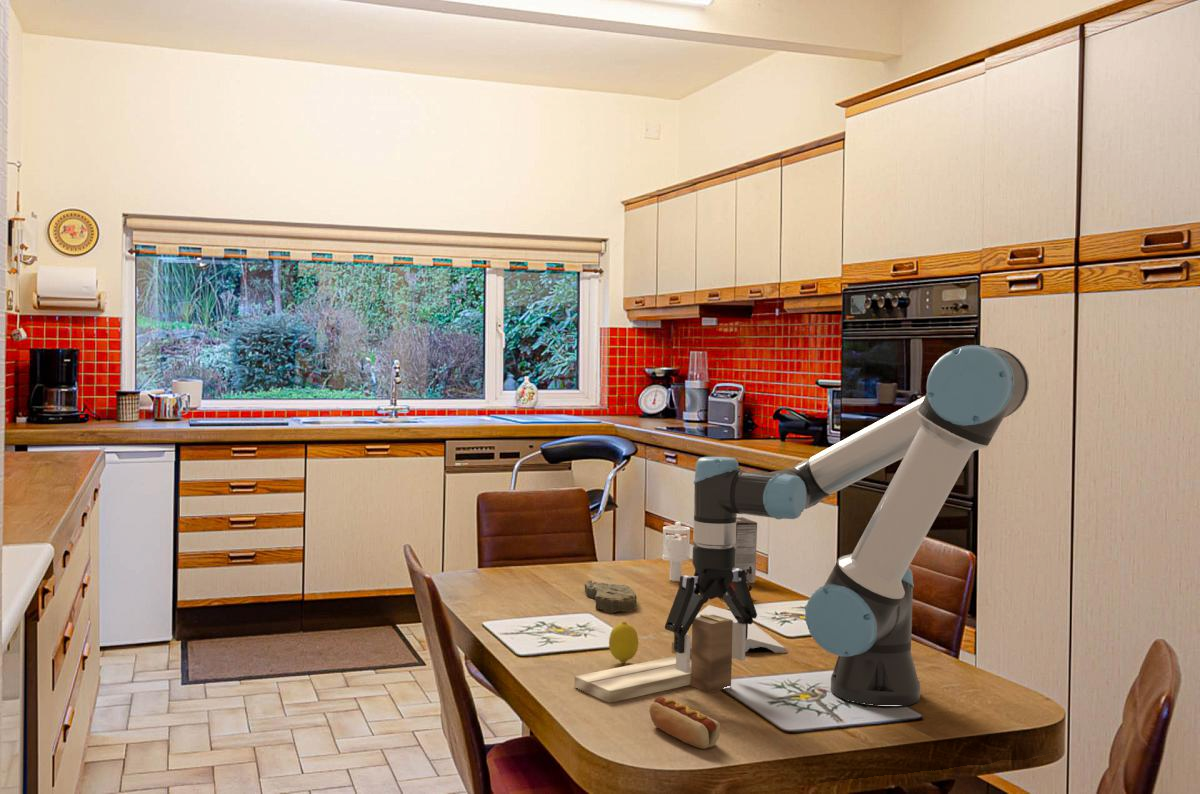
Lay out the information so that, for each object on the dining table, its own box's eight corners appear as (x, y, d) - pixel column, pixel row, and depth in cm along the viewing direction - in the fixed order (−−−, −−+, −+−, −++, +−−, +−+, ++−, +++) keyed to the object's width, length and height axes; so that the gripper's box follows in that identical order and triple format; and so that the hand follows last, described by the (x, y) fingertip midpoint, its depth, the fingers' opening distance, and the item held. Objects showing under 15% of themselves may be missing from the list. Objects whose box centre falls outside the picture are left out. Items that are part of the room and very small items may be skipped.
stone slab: (652, 610, 242) (649, 589, 241) (602, 622, 239) (599, 600, 239) (621, 590, 267) (618, 571, 267) (575, 601, 265) (572, 581, 264)
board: (710, 680, 190) (710, 668, 190) (609, 702, 176) (609, 690, 176) (673, 666, 198) (673, 655, 198) (574, 687, 184) (574, 675, 184)
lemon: (628, 669, 196) (629, 626, 196) (603, 664, 199) (603, 622, 199) (643, 662, 201) (644, 620, 201) (618, 657, 204) (619, 616, 204)
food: (727, 749, 157) (728, 715, 157) (698, 756, 154) (699, 722, 154) (670, 721, 168) (671, 690, 168) (642, 727, 165) (643, 696, 165)
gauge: (731, 687, 186) (733, 618, 186) (710, 692, 183) (712, 622, 183) (685, 671, 196) (686, 605, 195) (664, 675, 193) (666, 608, 192)
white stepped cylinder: (690, 578, 281) (691, 522, 281) (686, 583, 274) (687, 526, 274) (664, 576, 283) (665, 520, 282) (659, 581, 276) (661, 524, 275)
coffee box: (719, 576, 284) (721, 517, 284) (741, 575, 286) (743, 516, 285) (733, 583, 275) (735, 522, 275) (756, 582, 277) (758, 521, 277)
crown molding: (788, 655, 210) (788, 637, 210) (729, 657, 208) (729, 639, 208) (742, 620, 239) (742, 604, 239) (690, 621, 236) (690, 605, 236)
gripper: (748, 535, 196) (745, 649, 197) (646, 547, 181) (643, 670, 182) (778, 542, 190) (775, 659, 191) (675, 554, 175) (672, 681, 176)
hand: (710, 664), depth 187 cm, fingers open, 13 cm apart
